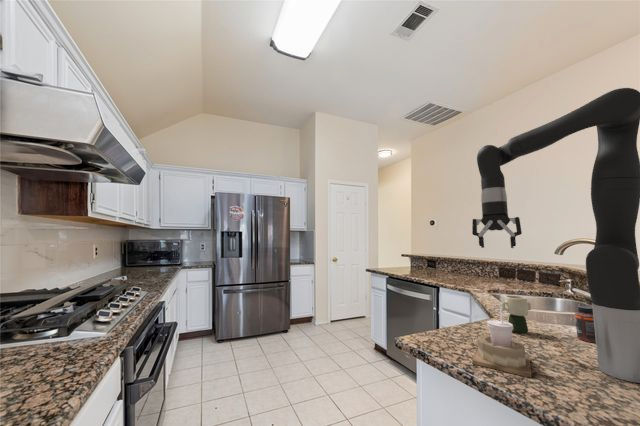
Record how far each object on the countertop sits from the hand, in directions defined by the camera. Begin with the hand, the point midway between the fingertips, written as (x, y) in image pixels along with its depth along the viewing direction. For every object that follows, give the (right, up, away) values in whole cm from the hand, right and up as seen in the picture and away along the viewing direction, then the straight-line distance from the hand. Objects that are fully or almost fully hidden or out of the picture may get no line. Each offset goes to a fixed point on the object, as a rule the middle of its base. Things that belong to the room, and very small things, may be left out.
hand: (497, 247), depth 92 cm
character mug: (+14, -34, +9) cm, 38 cm away
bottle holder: (-10, -31, -16) cm, 36 cm away
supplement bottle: (+33, -33, +1) cm, 46 cm away
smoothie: (-9, -30, -16) cm, 35 cm away
